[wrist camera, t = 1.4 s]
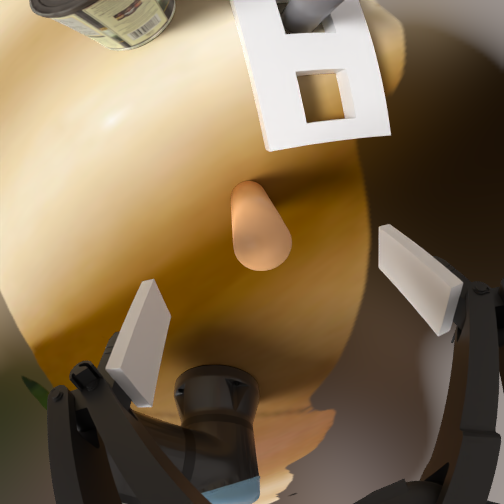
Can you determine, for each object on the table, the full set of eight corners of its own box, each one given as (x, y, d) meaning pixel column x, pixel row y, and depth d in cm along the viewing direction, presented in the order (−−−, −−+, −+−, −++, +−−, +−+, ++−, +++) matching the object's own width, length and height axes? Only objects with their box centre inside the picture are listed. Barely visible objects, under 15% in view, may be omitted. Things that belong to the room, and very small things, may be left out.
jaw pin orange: (269, 210, 31) (295, 263, 20) (235, 218, 31) (240, 276, 20) (262, 177, 29) (286, 211, 18) (226, 185, 30) (227, 224, 18)
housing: (377, 133, 28) (390, 135, 25) (265, 149, 28) (269, 151, 25) (342, -9, 19) (351, -18, 17) (227, -5, 19) (228, -17, 17)
